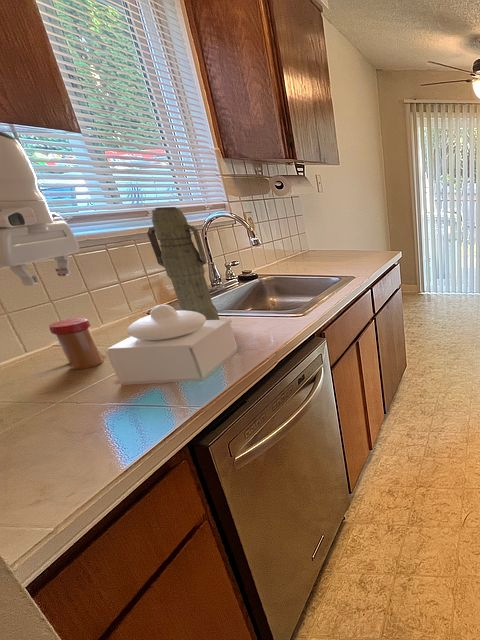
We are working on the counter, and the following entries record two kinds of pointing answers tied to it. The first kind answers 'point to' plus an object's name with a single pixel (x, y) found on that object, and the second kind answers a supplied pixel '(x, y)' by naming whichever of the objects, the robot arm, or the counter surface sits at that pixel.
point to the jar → (80, 349)
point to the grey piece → (182, 260)
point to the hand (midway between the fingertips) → (48, 280)
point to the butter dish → (172, 347)
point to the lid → (69, 326)
